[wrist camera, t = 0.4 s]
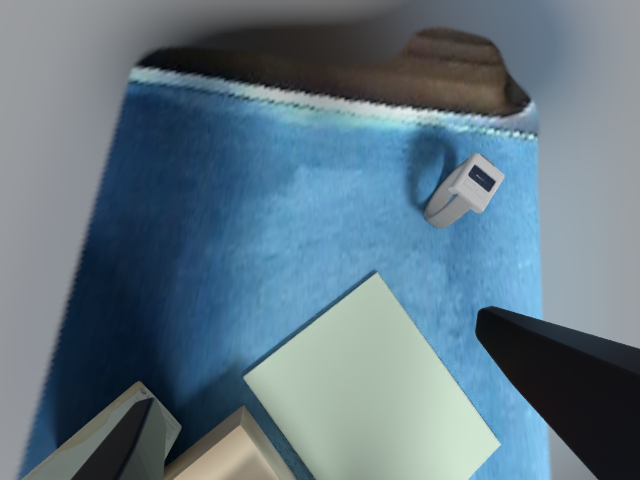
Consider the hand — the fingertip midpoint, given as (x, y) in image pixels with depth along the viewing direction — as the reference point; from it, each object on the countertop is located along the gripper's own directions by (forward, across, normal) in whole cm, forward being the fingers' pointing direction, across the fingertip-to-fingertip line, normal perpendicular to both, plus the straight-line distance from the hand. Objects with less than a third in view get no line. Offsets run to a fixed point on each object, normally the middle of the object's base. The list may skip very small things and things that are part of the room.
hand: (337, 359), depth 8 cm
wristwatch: (+15, -14, +1) cm, 21 cm away
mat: (+8, -5, +14) cm, 17 cm away
